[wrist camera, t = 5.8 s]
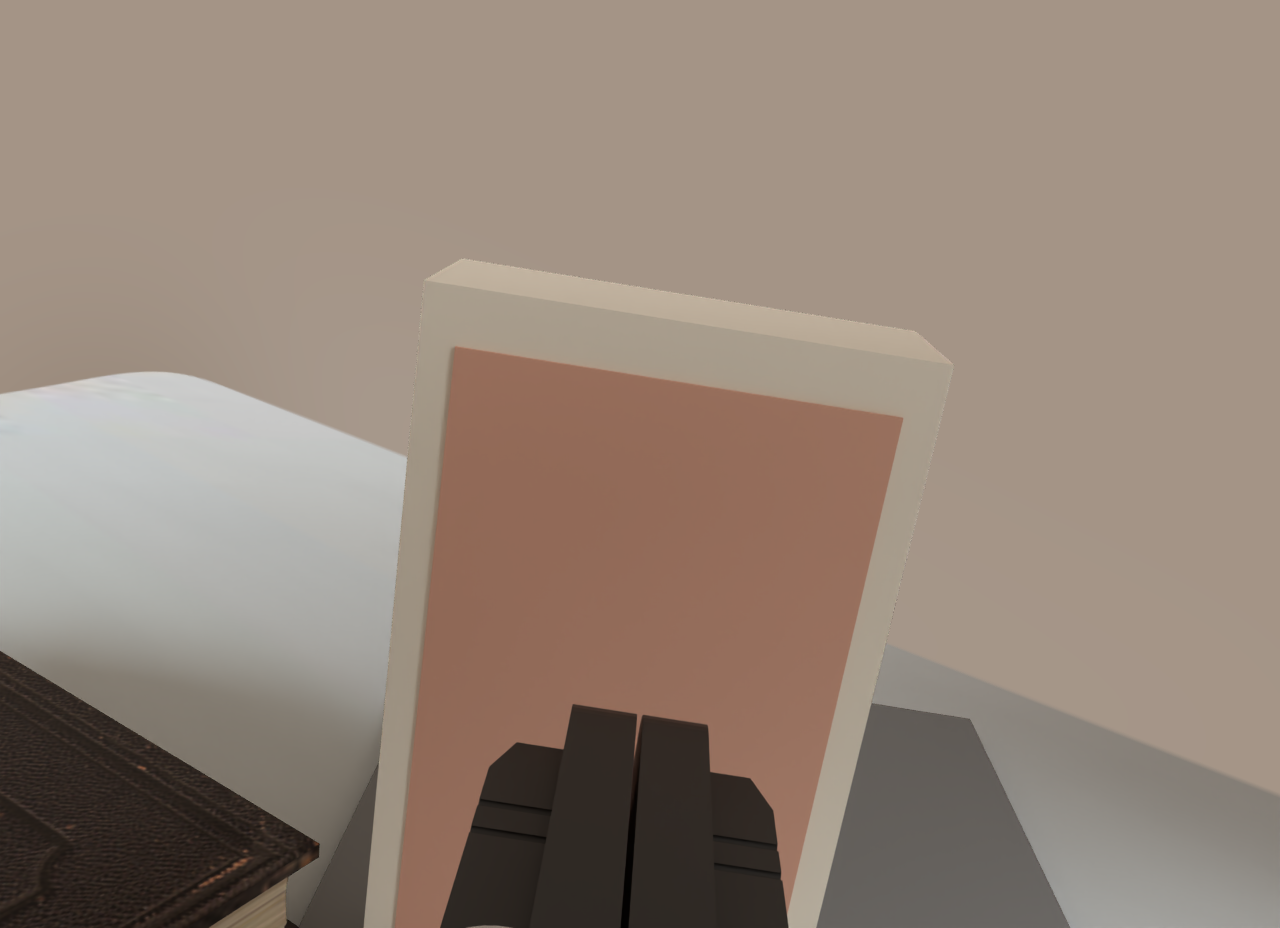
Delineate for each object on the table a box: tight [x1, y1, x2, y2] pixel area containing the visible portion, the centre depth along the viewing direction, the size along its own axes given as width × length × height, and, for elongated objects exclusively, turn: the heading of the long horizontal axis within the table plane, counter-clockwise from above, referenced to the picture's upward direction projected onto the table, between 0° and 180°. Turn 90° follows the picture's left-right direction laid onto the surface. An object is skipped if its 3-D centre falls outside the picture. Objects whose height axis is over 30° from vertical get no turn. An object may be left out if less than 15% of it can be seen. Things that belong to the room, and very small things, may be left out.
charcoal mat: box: [299, 703, 1070, 928], centre depth 23 cm, size 15×15×1 cm
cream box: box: [364, 259, 954, 928], centre depth 17 cm, size 7×3×12 cm, turn 87°
